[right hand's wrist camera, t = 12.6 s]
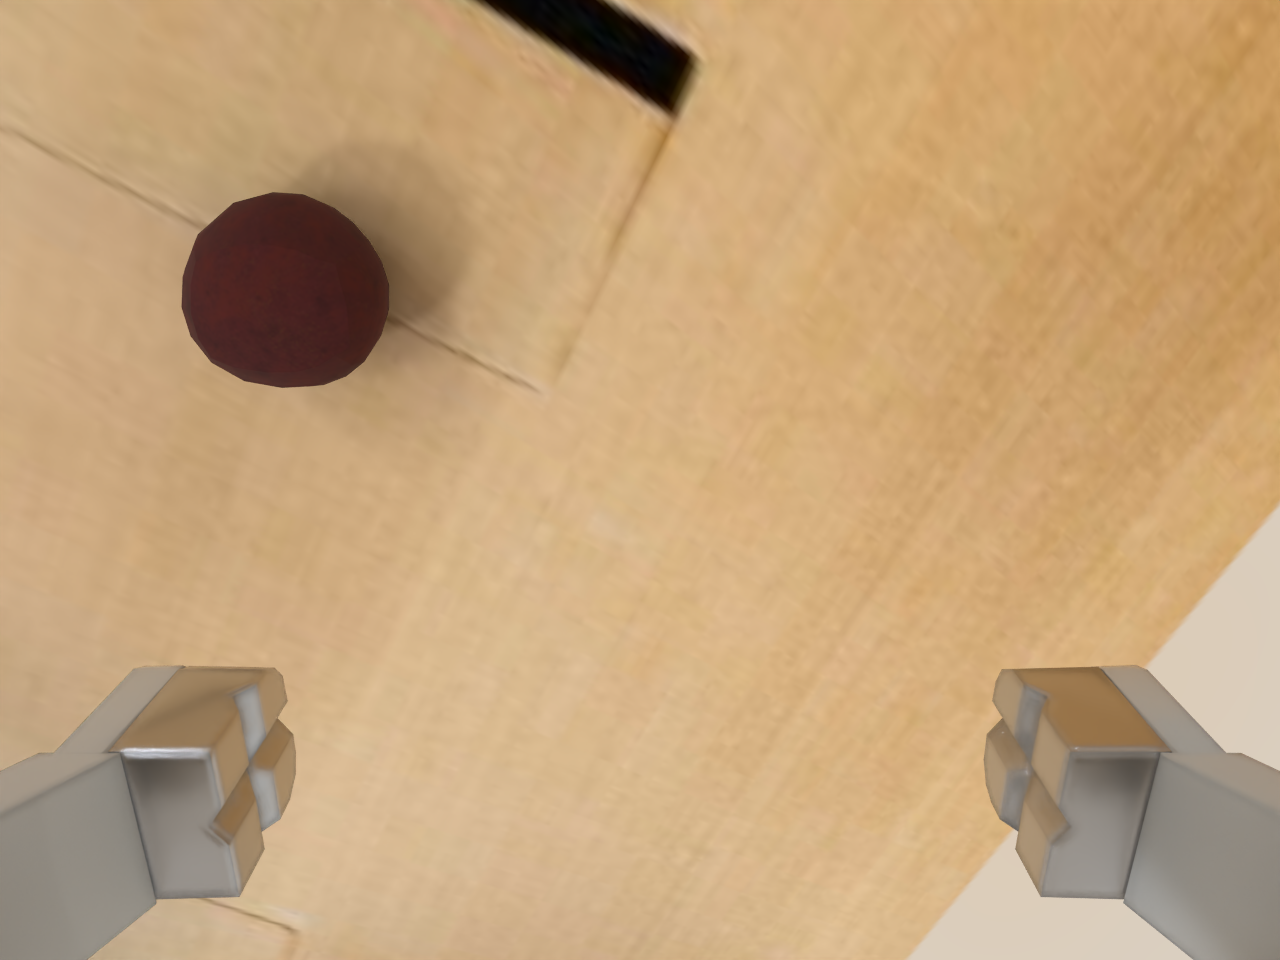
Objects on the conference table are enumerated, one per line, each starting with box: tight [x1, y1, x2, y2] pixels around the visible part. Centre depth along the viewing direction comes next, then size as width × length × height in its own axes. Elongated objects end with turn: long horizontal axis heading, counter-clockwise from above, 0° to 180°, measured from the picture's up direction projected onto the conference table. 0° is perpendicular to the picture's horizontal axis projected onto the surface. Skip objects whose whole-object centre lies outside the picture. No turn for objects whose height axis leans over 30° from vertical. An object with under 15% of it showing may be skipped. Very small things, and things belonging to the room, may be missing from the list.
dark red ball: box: [182, 192, 389, 388], centre depth 35 cm, size 7×8×7 cm
